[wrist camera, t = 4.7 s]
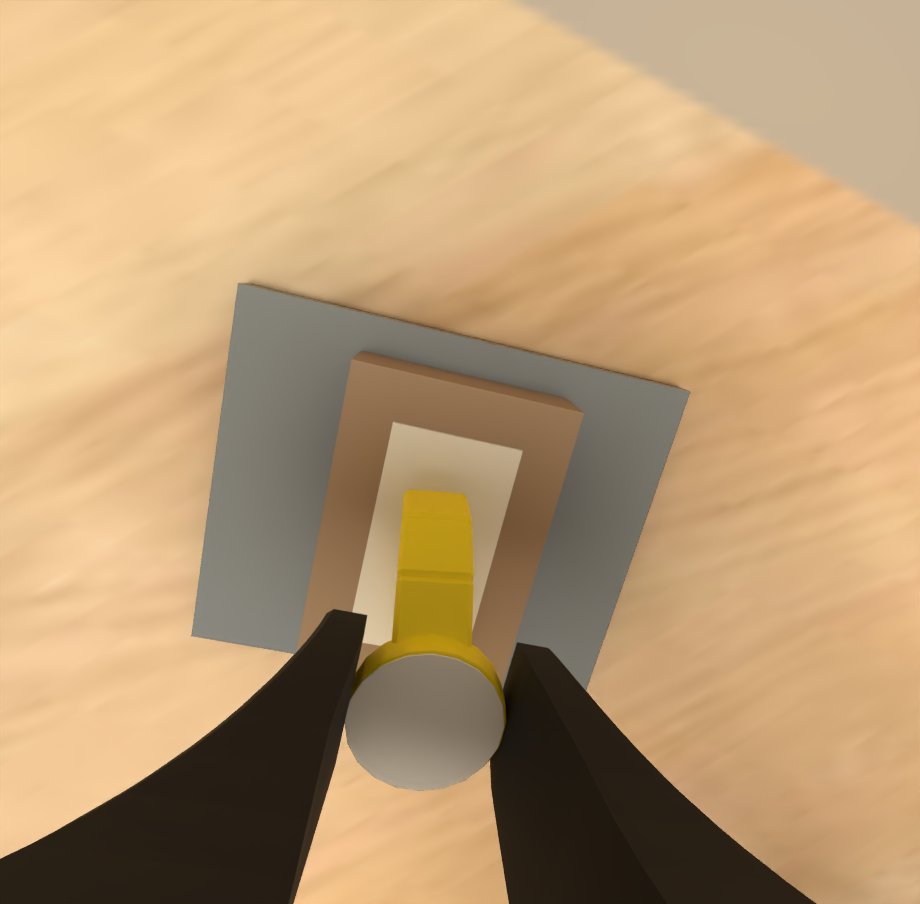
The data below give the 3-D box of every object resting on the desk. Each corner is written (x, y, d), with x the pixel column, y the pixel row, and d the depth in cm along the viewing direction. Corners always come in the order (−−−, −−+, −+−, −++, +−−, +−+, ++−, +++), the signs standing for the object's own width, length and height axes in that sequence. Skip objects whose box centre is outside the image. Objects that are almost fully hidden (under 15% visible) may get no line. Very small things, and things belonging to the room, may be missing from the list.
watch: (464, 667, 16) (486, 871, 11) (366, 663, 16) (335, 869, 10) (488, 467, 15) (529, 581, 9) (379, 459, 15) (351, 570, 9)
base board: (679, 387, 18) (725, 406, 15) (576, 687, 20) (598, 750, 18) (247, 283, 16) (209, 282, 13) (200, 621, 19) (161, 679, 16)
